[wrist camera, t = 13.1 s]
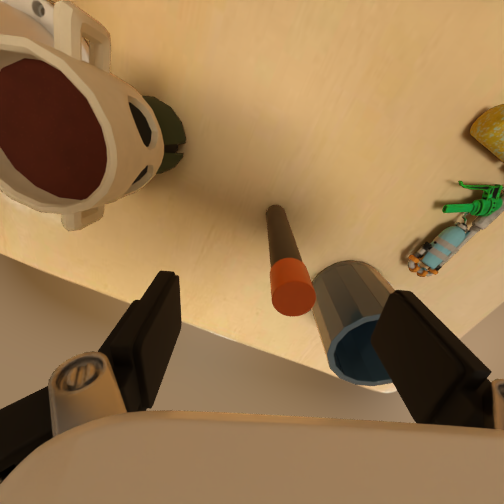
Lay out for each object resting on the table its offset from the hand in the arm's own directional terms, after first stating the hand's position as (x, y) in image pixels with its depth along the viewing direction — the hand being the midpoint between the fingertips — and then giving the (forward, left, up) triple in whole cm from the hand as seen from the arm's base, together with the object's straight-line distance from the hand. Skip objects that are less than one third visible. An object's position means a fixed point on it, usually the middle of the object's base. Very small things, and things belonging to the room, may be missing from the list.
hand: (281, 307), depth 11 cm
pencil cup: (+11, -9, -16) cm, 21 cm away
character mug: (-11, +6, -16) cm, 20 cm away
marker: (+1, 0, -16) cm, 16 cm away
